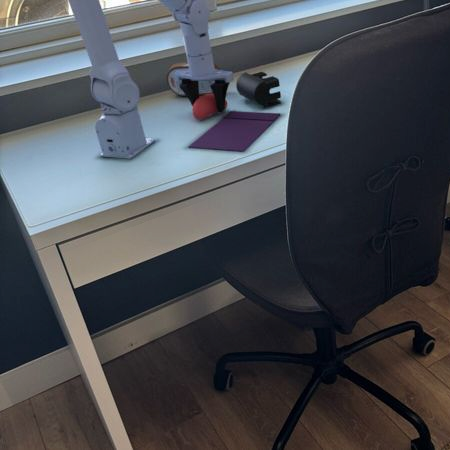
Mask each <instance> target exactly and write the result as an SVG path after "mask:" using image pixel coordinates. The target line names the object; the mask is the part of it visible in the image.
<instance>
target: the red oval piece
mask: <svg viewBox="0 0 450 450" xmlns="http://www.w3.org/2000/svg"><path fill="white" fill-rule="evenodd" d="M227 108H228V101H227V99H225V110H227ZM191 110H192V115H193V117H194V119H196V120H199V121H202V120H205V119H207V118H208V117H211V116H212V115H216V114H218V110H217V105H216V100H215V97H214V94H205V95H200V96H199V98H198V99H197V100H196V101H195V103H194V105H193V106H192V109H191Z"/></svg>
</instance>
